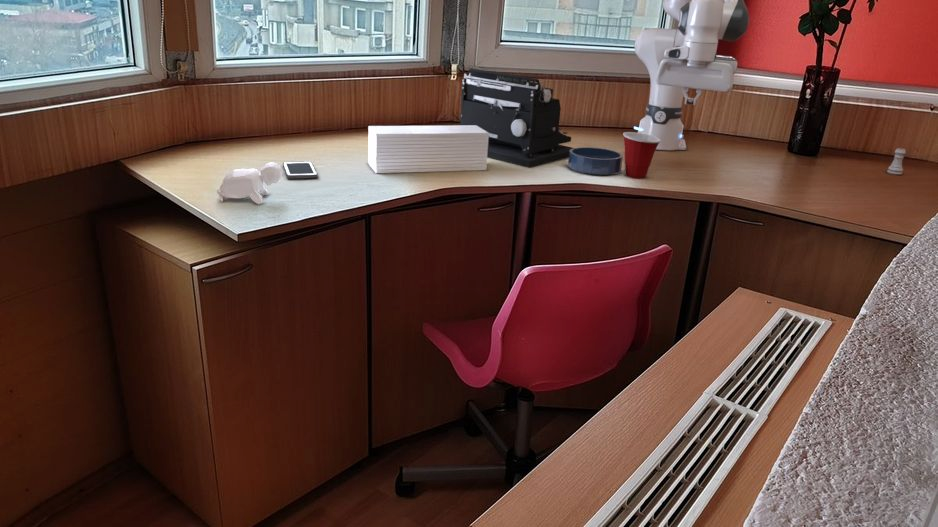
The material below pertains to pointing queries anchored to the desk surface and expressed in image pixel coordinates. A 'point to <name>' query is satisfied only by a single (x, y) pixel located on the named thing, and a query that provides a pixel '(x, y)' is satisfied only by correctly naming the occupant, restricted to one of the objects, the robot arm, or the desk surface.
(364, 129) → the desk surface
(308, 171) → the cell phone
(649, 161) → the plastic cup
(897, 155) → the rook chess piece
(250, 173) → the white animal figurine
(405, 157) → the stack of papers
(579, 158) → the bowl
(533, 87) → the typewriter
